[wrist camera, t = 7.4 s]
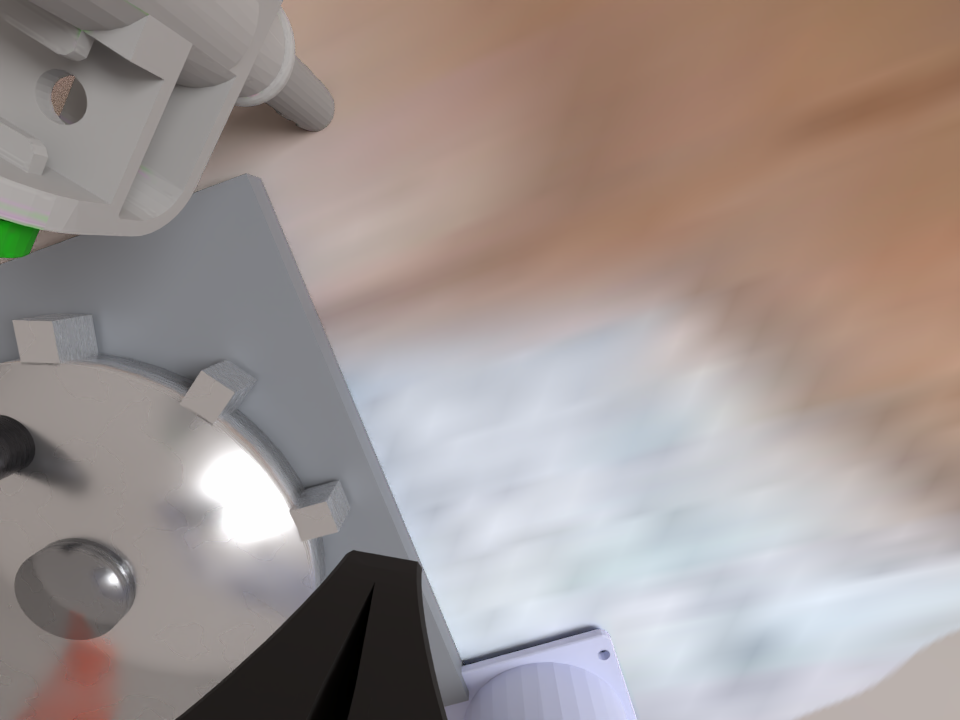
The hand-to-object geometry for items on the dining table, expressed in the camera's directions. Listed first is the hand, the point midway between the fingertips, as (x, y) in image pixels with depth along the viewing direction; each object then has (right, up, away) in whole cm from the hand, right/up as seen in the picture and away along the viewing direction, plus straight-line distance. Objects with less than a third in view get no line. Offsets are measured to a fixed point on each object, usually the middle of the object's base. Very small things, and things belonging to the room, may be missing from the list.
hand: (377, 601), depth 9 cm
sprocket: (-12, -3, +9) cm, 16 cm away
